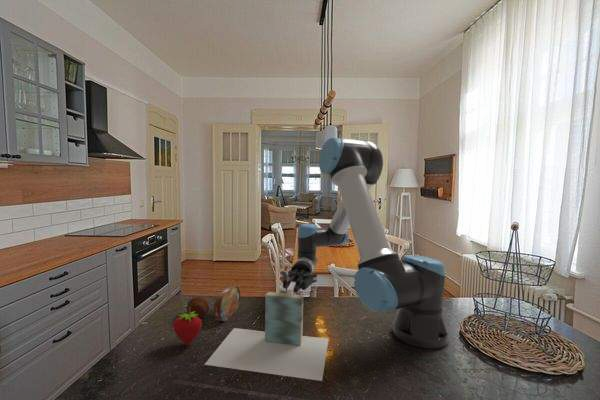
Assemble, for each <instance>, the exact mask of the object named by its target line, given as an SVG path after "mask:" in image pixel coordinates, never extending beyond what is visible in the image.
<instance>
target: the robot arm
mask: <svg viewBox="0 0 600 400" xmlns="http://www.w3.org/2000/svg"><path fill="white" fill-rule="evenodd" d="M380 149H381V148H379V146H378V145H376V144H375V143H374V142H372V141H368V140H363V139H362V140H361V139H351V138H344V137H343V138H342V137H331V138H328V139H327V140H326V141H325V142H324V143H323V145H322V146H321V149H320V151H319V155H318V156H319V157H318V168H319V170H320V172H321V173H323V175H326V176H327V175H329V178H330V179H331V184H332V185H334V186H336V187H338V190H339V193H340V196H341V199H340V202H339V204H338V207H337V209H336V211H335V212H334V215H333V217H332V219H331V221H330V223H329V224H328V227H325V228H324V227H322V228H320V227H319V228H318V226H317V224H314V223H302V224H299V226H298V231H297V258H296V261H295V262H294V263H293V265H292V266H291V269H290V270H288V272H287V271H284V270H281V272H280V273H281V274H280V275H281V277H280V280H282V288H283V289H285V292H286V294H296V293H298V292H299V291H300V289H301V290H302V291H306V290H307V289H308V288H309V287H310V286H311V285H312V284H314V283H317V280H318V274H317V273H313V272H314V270H315V268H316V267H317V262H318V259H317V248H321V247H330V246H331V247H332V246H336V247H337V246H342V245H346V244H347V243H348V241H349V231H348V229H349V227H350V229H351V232H352V235H353V238H354V241H355V244H356V248H357V252H358V254H359V258H360V259H359V260H358V262H357V271H356V273H355V274H354V282H353V285H354V289H355V293H356V295H357V298H358V299H359V301H360V302H361V303H362V305H363V306H364V307H366V308H367V309H368V310H370V311H371V312H374V313H384V312H392V311H395V310H397V312H396V314H395V317H394V320H393V322H392V333H393V334H394V336H395V337H396V339H398V340H400V341H401V342H403V343H405V344H407V345H409V346H412V347H417V348H419V349H420V348H421V349H427V350H428V349H429V350H431V349H432V350H433V349H434V350H436V349H441V348H444V347H446V346H447V345H448V343H449V331H448V326H447V324H446V319H445V317H444V311H443V310H444V297H445V281H446V280H445V279H446V276H447V275H446V267H445V264H444V263H443V262H442V261H440V260H438V259H434V258H431V257H427V256H423V255H417V254H403V255H402V258H400V255H399V254H398V252H395V251H394V250H392V249H391V248H390V246H389V243H388V240H387V237H386V234H385V232H384V231H385V230H384V228H383V226H382V225H383V224H382V223H381V219H380V218H379V214H378V212H377V209H376V206H375V203H374V201H373V198H372V195H371V192H370V190H371V188H372V186H375V185H376V184H377V182H378V181H379V179H380V177H381V175H382V171H383V168H384V167H383V166H384V158H383V154H382V151H381V150H380ZM288 278H289V279H288Z"/></svg>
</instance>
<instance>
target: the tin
mask: <svg viewBox="0 0 600 400" xmlns="http://www.w3.org/2000/svg"><path fill="white" fill-rule="evenodd" d="M240 302H241V291H240V288H239V287H238V286H237V285H235V286H234V285H229V286H228V287H226V288H225V289H224V290H223V291H222V292H220V293H219V294H218V295H217V296H216V297H215V301H214V304H213V309H214V310H213V312H214V313H213V314H214V319H215V320H216V321H218V322H227V321H228V320H230V318H231V317H232V316H233V315H234V314H235V312H236V311H237V310H238V309H239V307H240Z"/></svg>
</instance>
